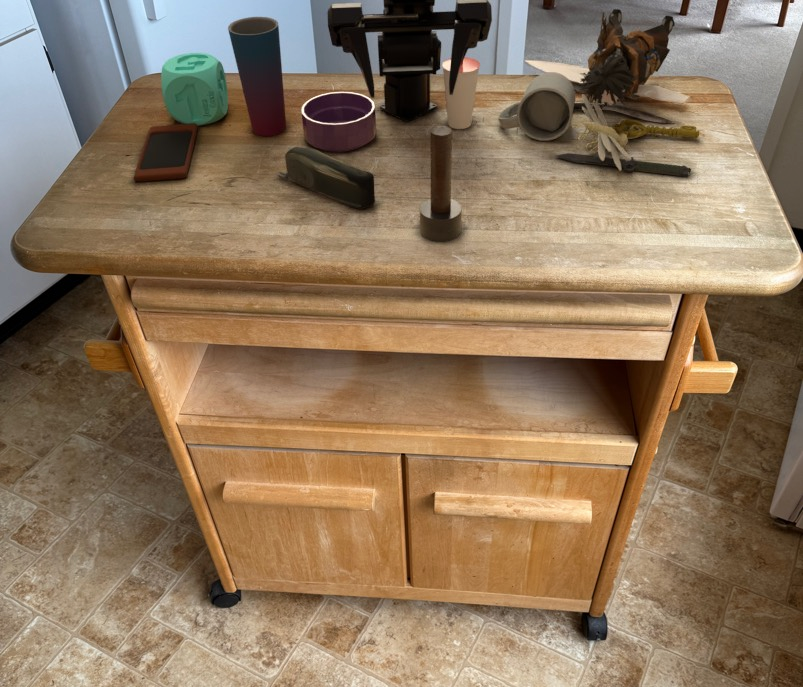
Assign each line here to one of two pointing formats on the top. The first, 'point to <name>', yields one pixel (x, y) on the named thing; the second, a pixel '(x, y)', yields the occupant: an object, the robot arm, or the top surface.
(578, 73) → the knife
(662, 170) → the knife
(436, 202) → the brown handled tamper
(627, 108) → the knife
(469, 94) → the cup
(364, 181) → the dark green rounded bar
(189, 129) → the smartphone
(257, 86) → the cup
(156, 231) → the top surface
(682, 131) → the key
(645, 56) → the figurine
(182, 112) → the decorative dice
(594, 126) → the toy
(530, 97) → the ceramic mug
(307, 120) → the bowl
